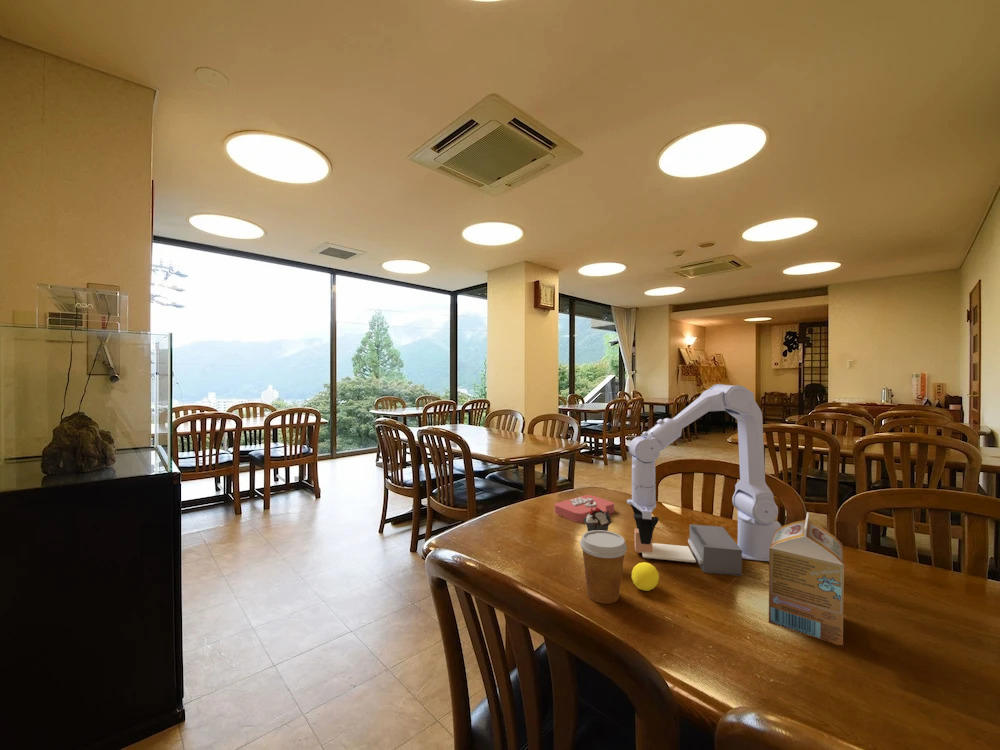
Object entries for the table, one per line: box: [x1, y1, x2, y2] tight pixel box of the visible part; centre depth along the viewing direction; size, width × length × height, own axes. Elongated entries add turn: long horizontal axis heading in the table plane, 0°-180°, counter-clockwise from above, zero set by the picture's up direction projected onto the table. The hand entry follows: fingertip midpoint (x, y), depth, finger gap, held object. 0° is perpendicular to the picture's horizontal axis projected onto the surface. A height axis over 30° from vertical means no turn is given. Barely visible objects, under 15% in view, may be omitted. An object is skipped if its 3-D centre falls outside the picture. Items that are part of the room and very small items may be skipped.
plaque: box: [554, 494, 615, 524], centre depth 133 cm, size 18×4×15 cm
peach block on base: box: [634, 527, 697, 563], centre depth 102 cm, size 14×8×5 cm, turn 77°
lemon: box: [631, 561, 660, 592], centre depth 87 cm, size 7×5×5 cm
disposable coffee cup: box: [579, 530, 628, 605], centre depth 84 cm, size 10×10×12 cm
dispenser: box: [687, 523, 743, 577], centre depth 100 cm, size 9×14×6 cm, turn 167°
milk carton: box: [768, 512, 845, 646], centre depth 76 cm, size 11×11×19 cm
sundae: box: [583, 502, 612, 532], centre depth 99 cm, size 7×7×15 cm
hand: (643, 537), depth 104 cm, fingers open, 7 cm apart
